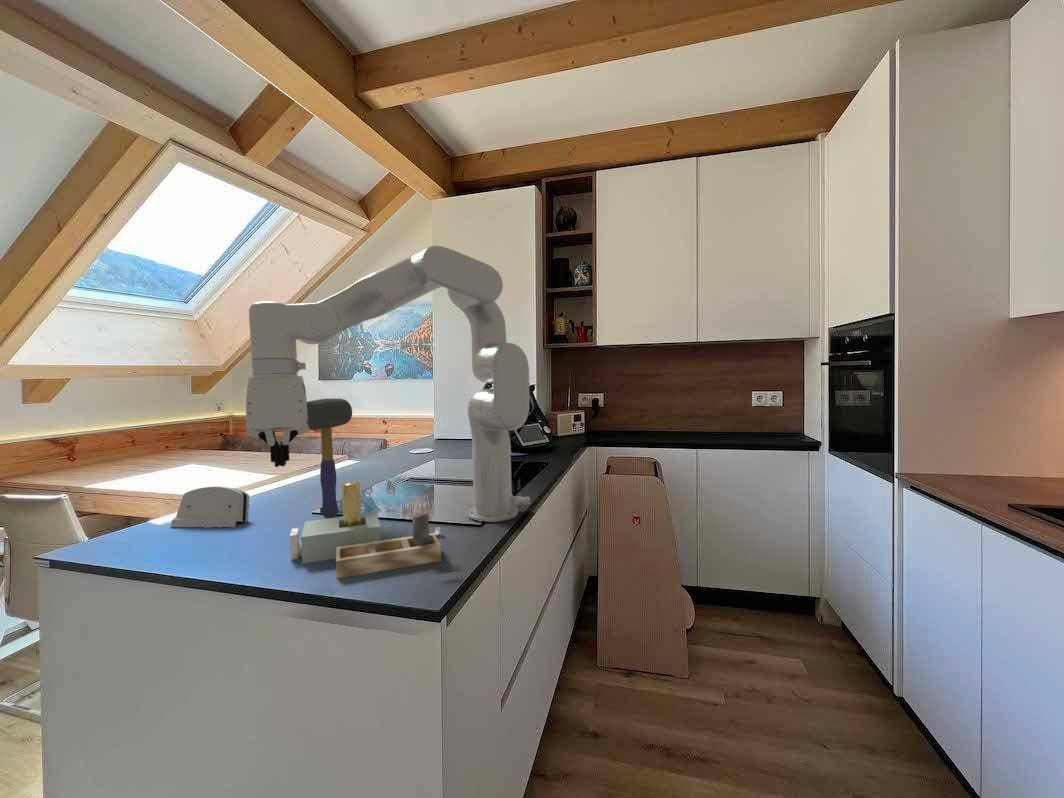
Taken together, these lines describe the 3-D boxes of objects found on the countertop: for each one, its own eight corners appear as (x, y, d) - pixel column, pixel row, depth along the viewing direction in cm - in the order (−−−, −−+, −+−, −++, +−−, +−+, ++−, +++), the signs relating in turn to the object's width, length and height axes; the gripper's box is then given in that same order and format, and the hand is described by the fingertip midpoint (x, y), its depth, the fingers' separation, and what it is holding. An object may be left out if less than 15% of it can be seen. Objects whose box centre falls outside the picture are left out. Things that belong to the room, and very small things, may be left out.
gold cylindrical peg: (362, 542, 98) (359, 480, 97) (362, 548, 95) (359, 484, 94) (344, 545, 96) (341, 482, 96) (344, 550, 93) (341, 486, 93)
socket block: (377, 539, 102) (376, 512, 102) (381, 556, 93) (380, 526, 92) (306, 550, 97) (305, 521, 97) (302, 568, 88) (301, 537, 87)
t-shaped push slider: (337, 548, 97) (336, 522, 96) (337, 556, 92) (336, 529, 92) (293, 555, 93) (292, 528, 93) (291, 563, 89) (289, 535, 89)
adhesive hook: (442, 544, 100) (442, 529, 100) (430, 545, 99) (429, 530, 99) (442, 539, 103) (442, 525, 103) (430, 540, 102) (429, 526, 102)
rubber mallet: (322, 526, 112) (316, 400, 110) (298, 523, 114) (292, 400, 112) (359, 511, 123) (354, 397, 121) (336, 508, 126) (331, 397, 124)
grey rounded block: (168, 527, 113) (177, 485, 116) (184, 528, 118) (192, 487, 120) (235, 527, 112) (242, 485, 115) (248, 528, 116) (254, 487, 119)
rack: (434, 552, 94) (433, 508, 94) (441, 565, 88) (439, 518, 87) (337, 568, 88) (335, 520, 87) (336, 583, 81) (334, 532, 80)
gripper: (319, 368, 95) (324, 458, 96) (233, 370, 89) (239, 465, 91) (317, 368, 88) (322, 465, 89) (224, 369, 82) (230, 473, 84)
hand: (280, 465), depth 90 cm, fingers closed
